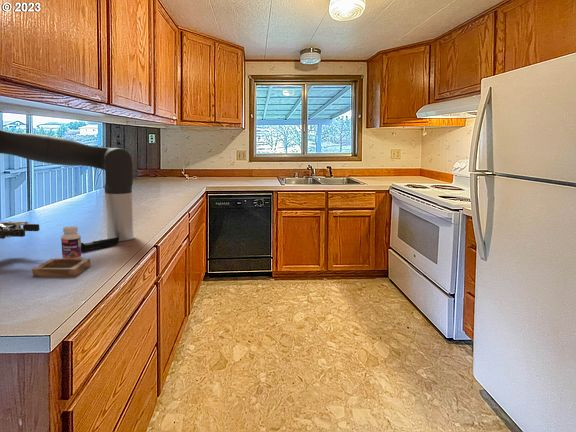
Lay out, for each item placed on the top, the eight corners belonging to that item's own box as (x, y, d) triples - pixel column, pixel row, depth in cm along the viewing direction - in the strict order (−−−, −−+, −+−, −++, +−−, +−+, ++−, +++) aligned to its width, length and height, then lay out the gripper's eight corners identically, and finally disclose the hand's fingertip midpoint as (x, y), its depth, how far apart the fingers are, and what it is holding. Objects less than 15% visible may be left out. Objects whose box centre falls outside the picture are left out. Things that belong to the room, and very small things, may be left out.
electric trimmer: (121, 246, 160) (121, 237, 160) (79, 254, 148) (78, 244, 147) (115, 244, 162) (115, 236, 162) (72, 252, 150) (72, 242, 150)
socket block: (51, 265, 134) (51, 258, 133) (90, 265, 134) (90, 258, 134) (32, 276, 123) (32, 269, 122) (74, 276, 123) (74, 269, 123)
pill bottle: (60, 260, 138) (58, 229, 137) (65, 256, 144) (63, 225, 142) (79, 260, 140) (77, 228, 138) (83, 255, 145) (81, 225, 143)
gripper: (-40, 220, 131) (18, 222, 132) (-10, 213, 145) (42, 214, 146) (-38, 246, 132) (20, 247, 133) (-9, 236, 146) (43, 237, 147)
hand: (32, 230), depth 139 cm, fingers open, 8 cm apart
